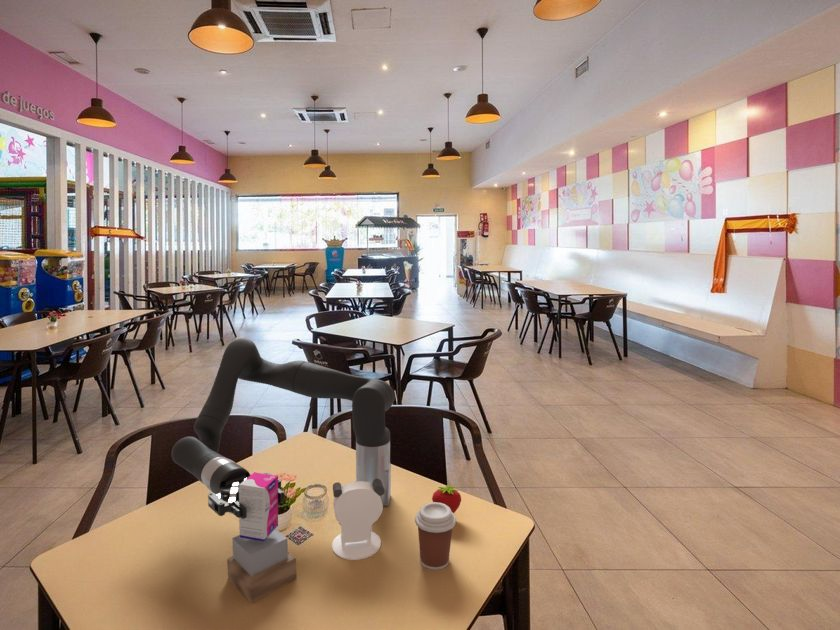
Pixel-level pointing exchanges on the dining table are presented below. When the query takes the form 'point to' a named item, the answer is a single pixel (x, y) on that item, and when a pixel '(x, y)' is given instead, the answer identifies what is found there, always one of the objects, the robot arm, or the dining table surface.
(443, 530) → the coffee cup
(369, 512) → the panda figurine
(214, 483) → the robot arm
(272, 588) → the walnut base block
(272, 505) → the supplement box
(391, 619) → the dining table surface
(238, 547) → the grey top block
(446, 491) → the strawberry
